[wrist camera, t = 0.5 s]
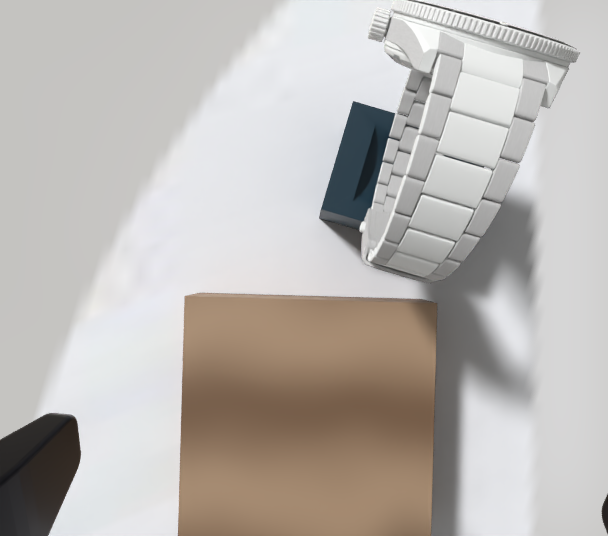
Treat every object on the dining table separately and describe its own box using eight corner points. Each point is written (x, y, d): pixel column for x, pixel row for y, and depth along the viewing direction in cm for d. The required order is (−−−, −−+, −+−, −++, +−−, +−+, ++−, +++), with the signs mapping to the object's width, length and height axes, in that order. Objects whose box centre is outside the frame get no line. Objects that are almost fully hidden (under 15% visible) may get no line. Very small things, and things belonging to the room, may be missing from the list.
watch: (476, 118, 21) (666, -50, 10) (425, 290, 21) (558, 314, 10) (356, 83, 21) (411, -124, 10) (305, 255, 21) (304, 239, 10)
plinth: (415, 522, 21) (430, 556, 18) (193, 514, 21) (177, 548, 18) (421, 299, 21) (437, 303, 18) (199, 292, 21) (184, 296, 18)
